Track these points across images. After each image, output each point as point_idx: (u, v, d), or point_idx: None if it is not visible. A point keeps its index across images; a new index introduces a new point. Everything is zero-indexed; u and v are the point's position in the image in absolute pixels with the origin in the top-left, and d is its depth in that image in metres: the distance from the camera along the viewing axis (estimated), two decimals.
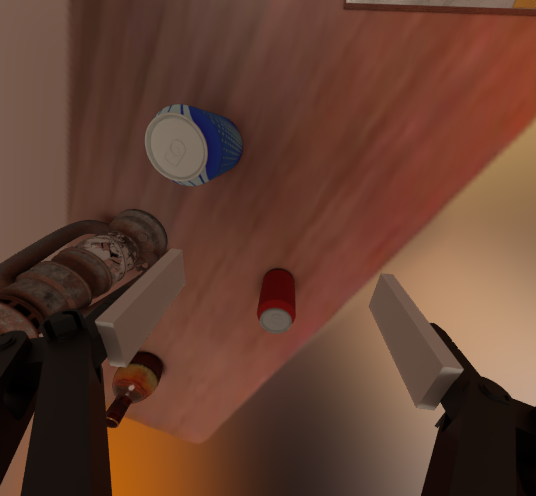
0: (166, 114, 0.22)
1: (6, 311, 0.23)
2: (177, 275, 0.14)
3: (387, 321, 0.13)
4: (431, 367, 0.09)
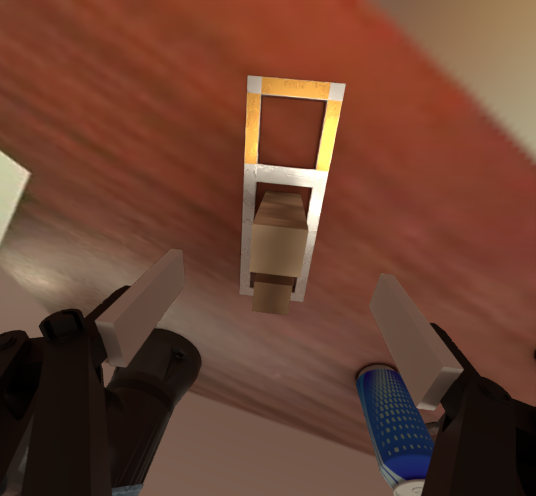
0: (395, 491, 0.30)
1: None
2: (177, 275, 0.14)
3: (387, 321, 0.13)
4: (431, 367, 0.09)
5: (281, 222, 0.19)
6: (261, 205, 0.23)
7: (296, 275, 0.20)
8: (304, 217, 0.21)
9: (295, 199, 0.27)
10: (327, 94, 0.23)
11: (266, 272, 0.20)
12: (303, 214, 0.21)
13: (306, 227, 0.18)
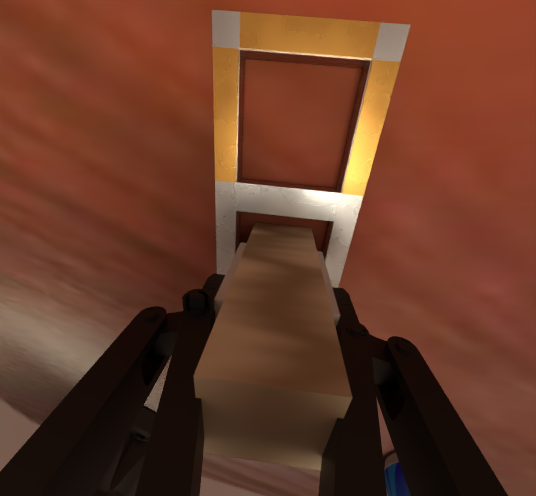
0: None
1: None
2: None
3: None
4: None
5: (275, 353, 0.07)
6: (237, 271, 0.11)
7: (312, 467, 0.08)
8: (329, 316, 0.09)
9: (304, 245, 0.15)
10: (371, 48, 0.12)
11: (241, 456, 0.08)
12: (325, 302, 0.10)
13: (344, 379, 0.07)
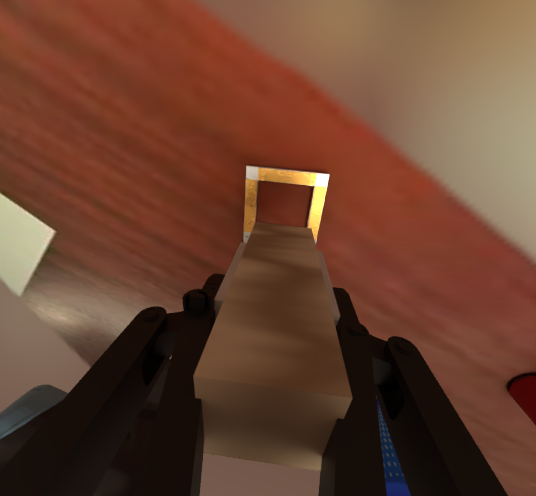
0: None
1: None
2: None
3: None
4: None
5: (275, 353, 0.07)
6: (237, 271, 0.11)
7: (312, 467, 0.08)
8: (329, 316, 0.09)
9: (304, 245, 0.15)
10: (314, 182, 0.27)
11: (241, 456, 0.08)
12: (325, 302, 0.10)
13: (344, 379, 0.07)
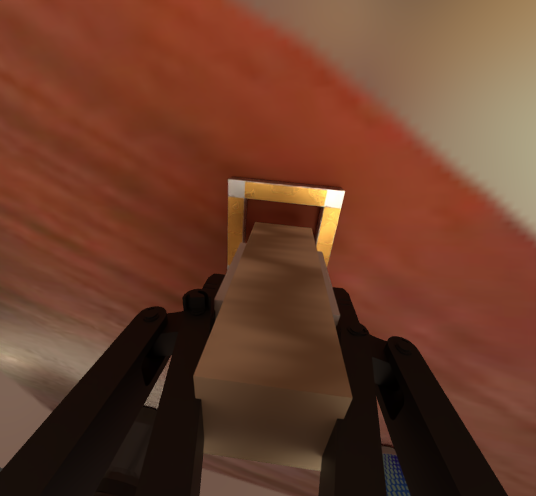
0: None
1: None
2: None
3: None
4: None
5: (275, 353, 0.07)
6: (238, 271, 0.11)
7: (312, 467, 0.08)
8: (329, 316, 0.09)
9: (304, 245, 0.15)
10: (323, 201, 0.20)
11: (241, 457, 0.08)
12: (325, 302, 0.10)
13: (344, 380, 0.07)
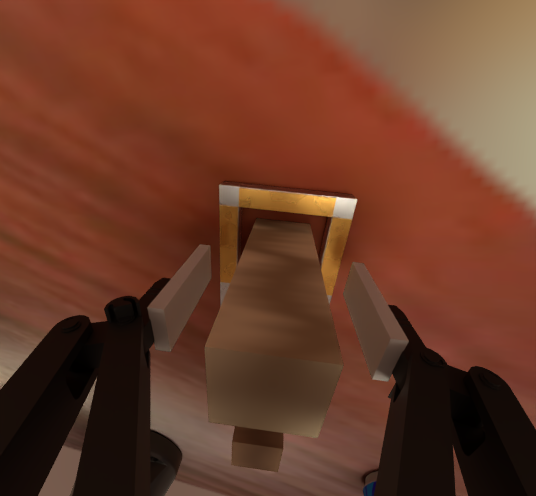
0: None
1: None
2: (206, 269, 0.15)
3: (355, 305, 0.14)
4: (383, 341, 0.10)
5: (276, 329, 0.08)
6: (241, 261, 0.12)
7: (309, 434, 0.09)
8: (325, 300, 0.10)
9: (303, 239, 0.16)
10: (331, 211, 0.17)
11: (245, 425, 0.09)
12: (322, 288, 0.11)
13: (337, 351, 0.08)
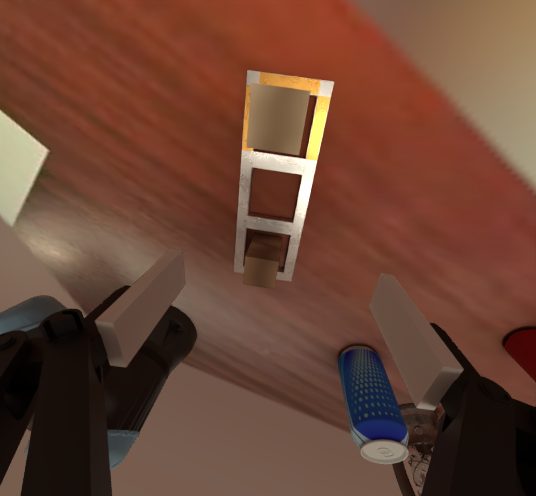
0: (361, 450, 0.33)
1: None
2: (177, 275, 0.14)
3: (387, 321, 0.13)
4: (431, 367, 0.09)
5: None
6: None
7: (295, 152, 0.19)
8: None
9: None
10: (317, 90, 0.26)
11: (264, 147, 0.19)
12: None
13: (308, 91, 0.17)
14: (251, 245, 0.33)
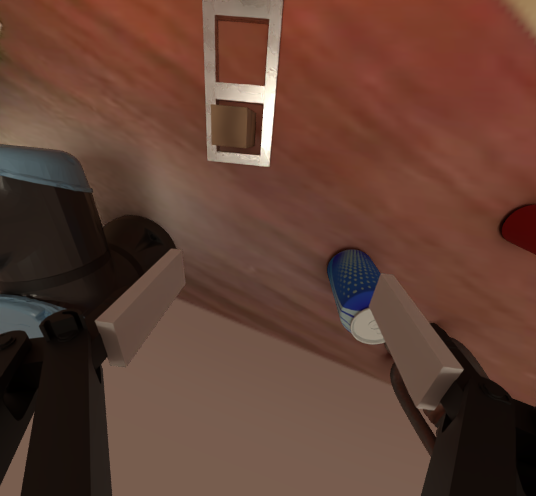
0: (351, 326, 0.30)
1: None
2: (177, 275, 0.14)
3: (387, 321, 0.13)
4: (431, 367, 0.09)
5: None
6: None
7: None
8: None
9: None
10: None
11: None
12: None
13: None
14: None
